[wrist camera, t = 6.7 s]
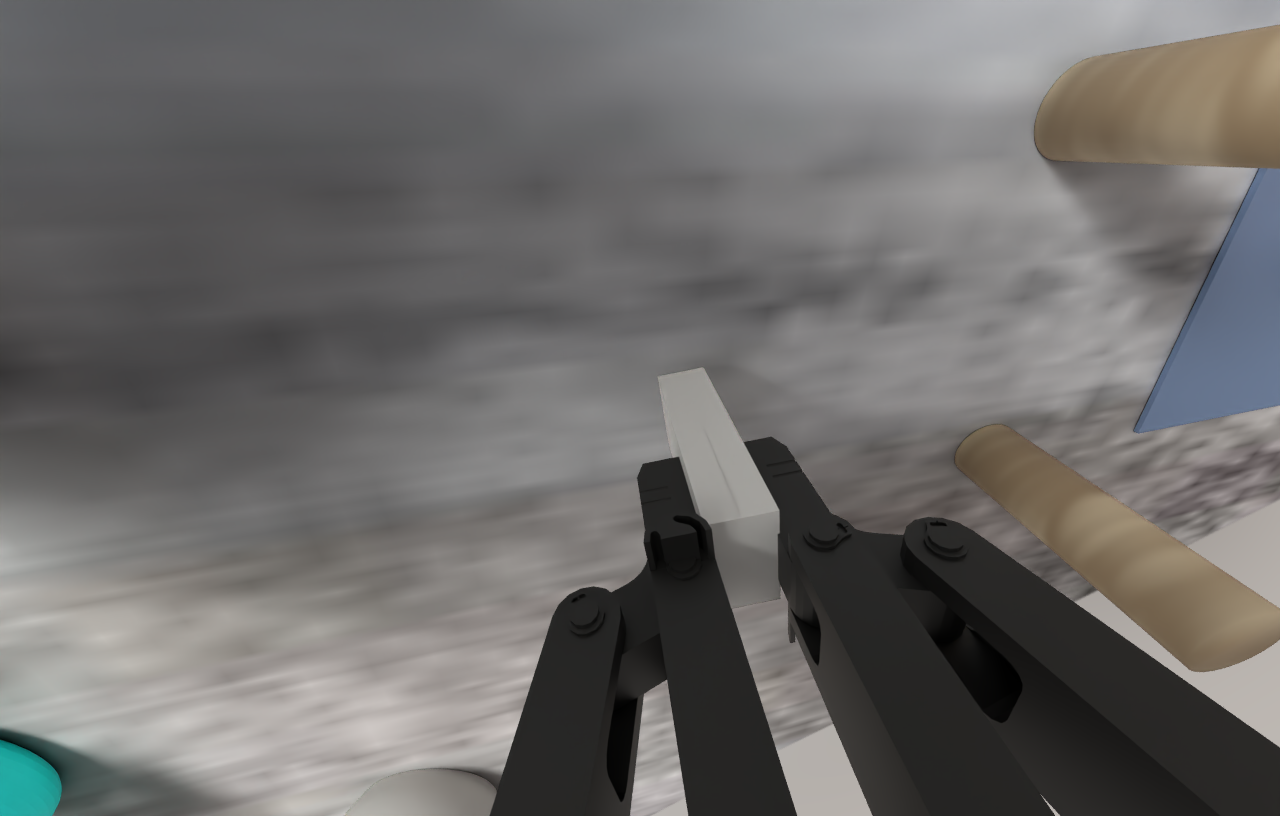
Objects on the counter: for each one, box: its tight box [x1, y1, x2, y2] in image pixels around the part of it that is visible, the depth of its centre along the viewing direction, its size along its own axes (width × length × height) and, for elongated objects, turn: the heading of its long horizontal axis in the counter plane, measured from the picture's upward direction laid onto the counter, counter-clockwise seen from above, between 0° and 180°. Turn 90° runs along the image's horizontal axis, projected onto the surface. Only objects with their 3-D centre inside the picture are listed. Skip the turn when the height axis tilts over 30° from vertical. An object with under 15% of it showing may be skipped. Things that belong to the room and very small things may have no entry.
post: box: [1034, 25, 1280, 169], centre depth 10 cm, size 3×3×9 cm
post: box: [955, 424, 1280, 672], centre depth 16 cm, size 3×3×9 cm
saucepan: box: [344, 769, 497, 816], centre depth 29 cm, size 11×18×4 cm, turn 115°
